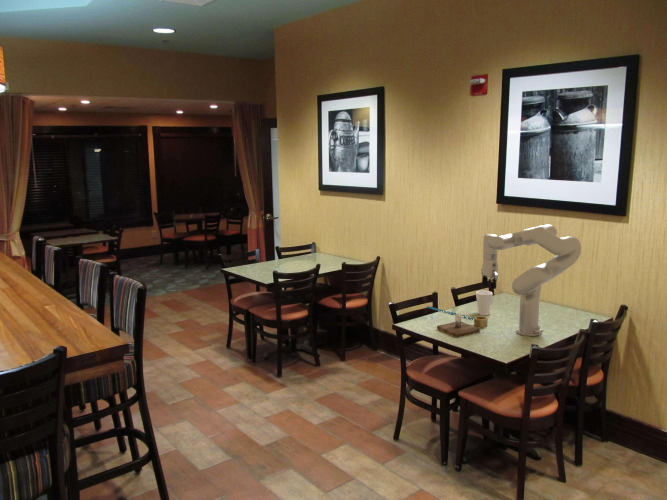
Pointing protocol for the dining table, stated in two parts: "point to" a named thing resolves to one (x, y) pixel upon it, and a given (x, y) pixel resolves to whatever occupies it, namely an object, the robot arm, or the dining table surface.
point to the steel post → (457, 320)
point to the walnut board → (458, 329)
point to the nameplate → (447, 312)
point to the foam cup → (484, 302)
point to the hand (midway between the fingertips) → (488, 286)
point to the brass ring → (480, 321)
